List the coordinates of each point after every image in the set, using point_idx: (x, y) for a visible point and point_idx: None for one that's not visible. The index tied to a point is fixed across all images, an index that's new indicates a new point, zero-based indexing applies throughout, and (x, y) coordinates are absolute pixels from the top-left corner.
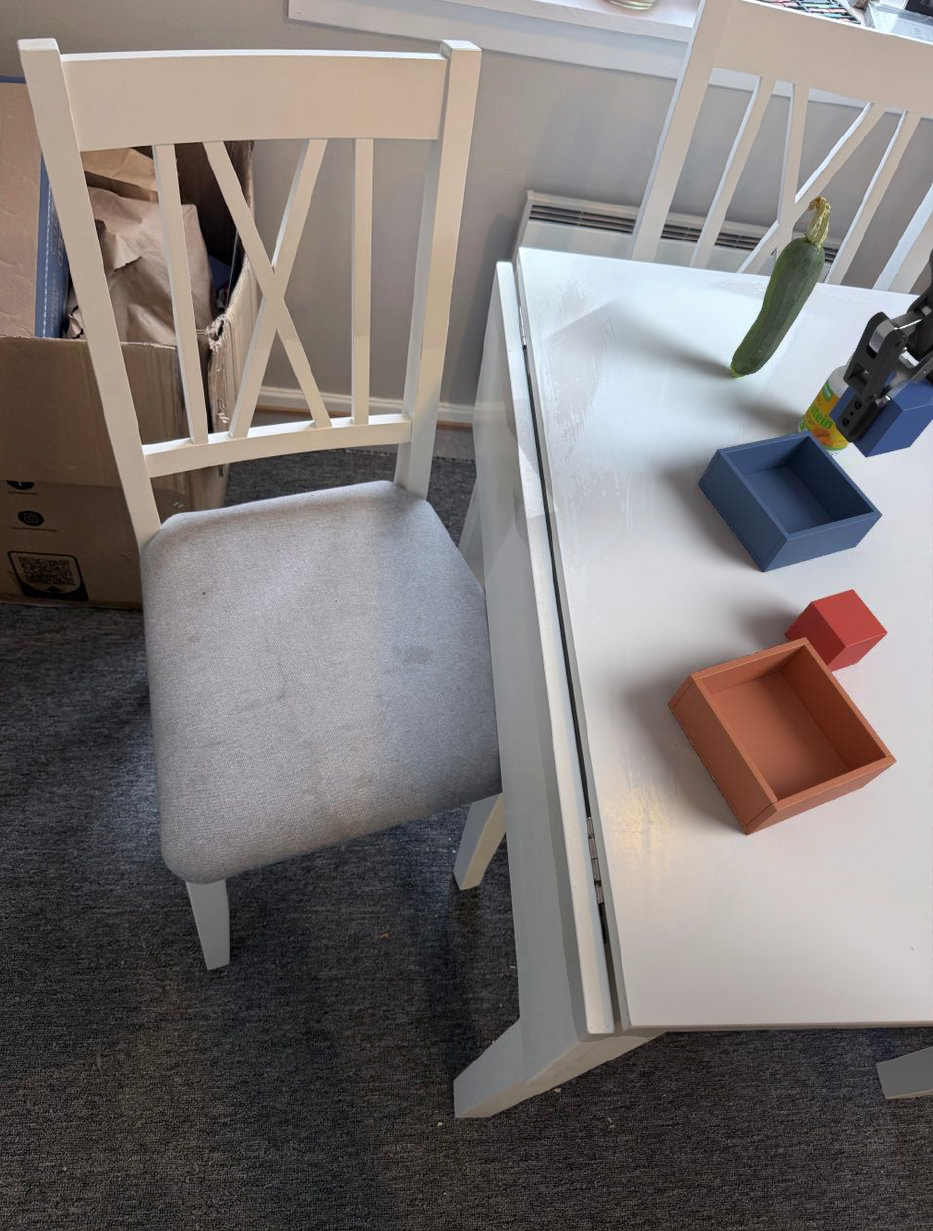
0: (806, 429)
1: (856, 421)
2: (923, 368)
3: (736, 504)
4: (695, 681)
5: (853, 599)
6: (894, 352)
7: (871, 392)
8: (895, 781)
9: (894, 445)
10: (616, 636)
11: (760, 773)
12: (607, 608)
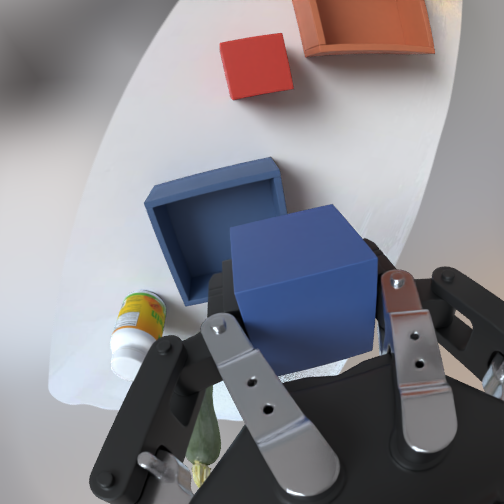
0: (164, 312)
1: (384, 255)
2: (431, 337)
3: None
4: (433, 46)
5: (240, 85)
6: None
7: (467, 280)
8: None
9: (284, 221)
10: (421, 116)
11: None
12: (417, 141)
